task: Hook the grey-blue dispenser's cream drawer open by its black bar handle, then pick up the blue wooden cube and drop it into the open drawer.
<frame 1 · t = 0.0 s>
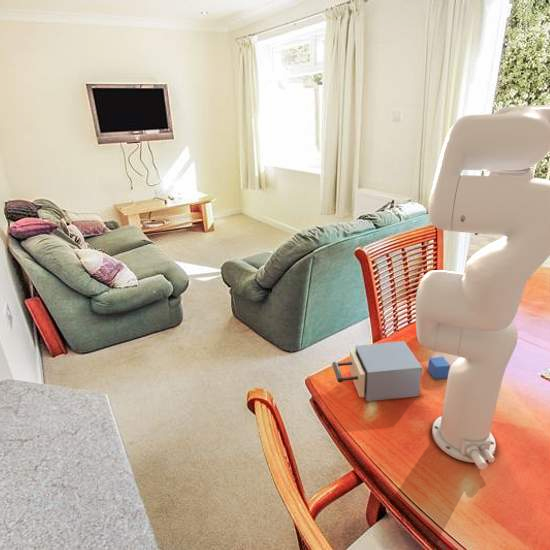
hand: (498, 235, 93), 37 cm above the table, tool pointing down, fingers open, 9 cm apart
teacup with lid: (436, 332, 122), on the table
dispenser: (385, 383, 101), on the table
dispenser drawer: (368, 371, 99), point 5 cm above the table, slide at 0.5 cm
blue wooden cube: (437, 373, 103), on the table
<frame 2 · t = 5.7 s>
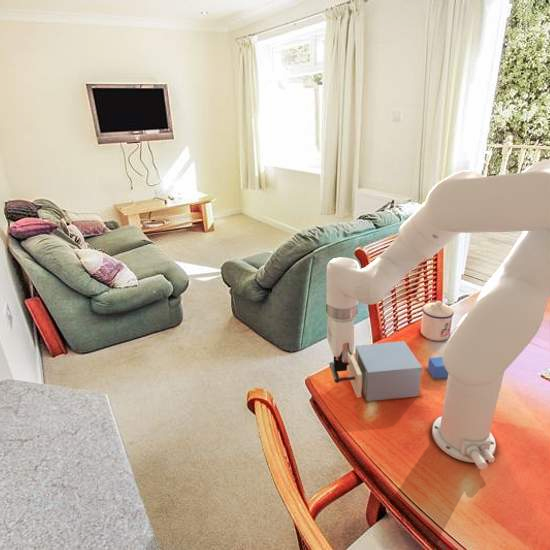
hand: (340, 369, 98), 6 cm above the table, tool pointing down, fingers closed
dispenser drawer: (365, 372, 99), point 5 cm above the table, slide at 1.3 cm, touching gripper
everything else where it was.
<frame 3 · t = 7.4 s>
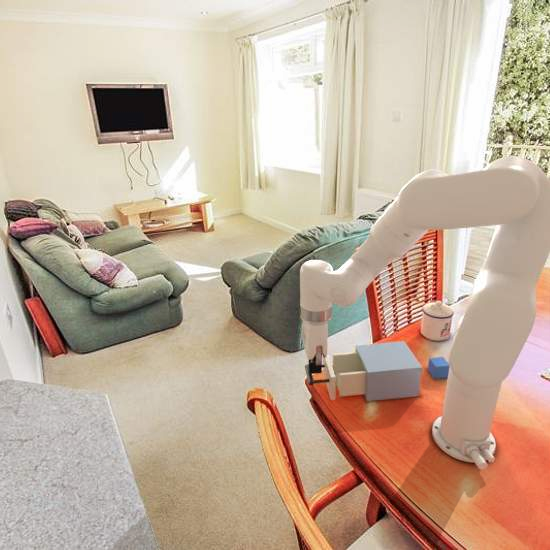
hand: (315, 371, 98), 6 cm above the table, tool pointing down, fingers closed
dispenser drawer: (340, 374, 98), point 5 cm above the table, slide at 7.9 cm, touching gripper
everything else where it was.
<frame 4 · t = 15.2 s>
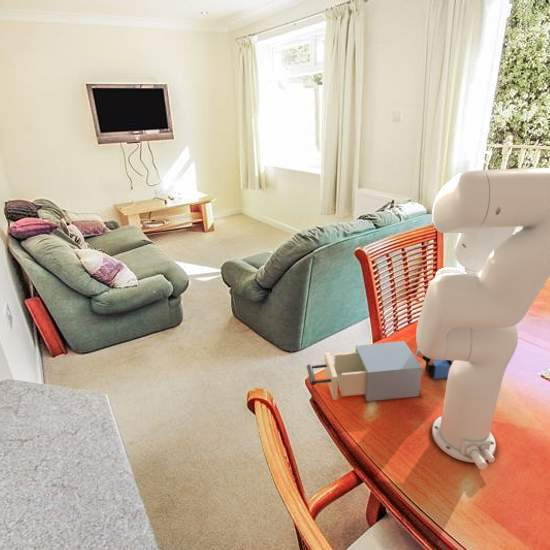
hand: (438, 372, 103), 0 cm above the table, tool pointing down, fingers closed on blue wooden cube, 4 cm apart
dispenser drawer: (342, 374, 98), point 5 cm above the table, slide at 7.4 cm
blue wooden cube: (437, 373, 103), on the table, touching gripper
everything else where it was.
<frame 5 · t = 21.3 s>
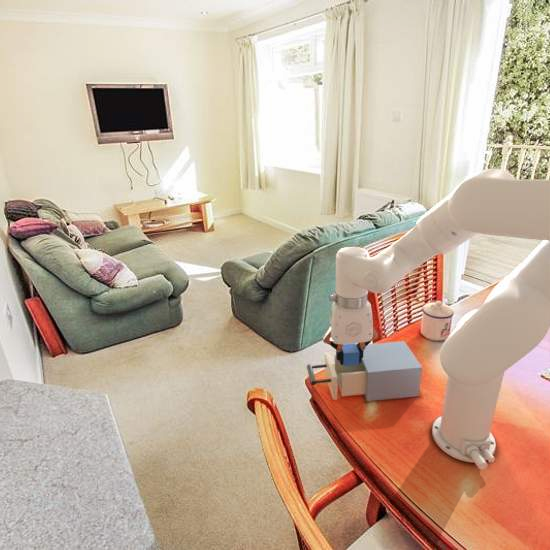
hand: (349, 360, 97), 9 cm above the table, tool pointing down, fingers closed on blue wooden cube, 4 cm apart
blue wooden cube: (349, 360, 97), point 8 cm above the table, touching gripper
everything else where it was.
when the fingers open (11 cm above the table, at t = 28.6 s): blue wooden cube drops 8 cm, resting on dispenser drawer.
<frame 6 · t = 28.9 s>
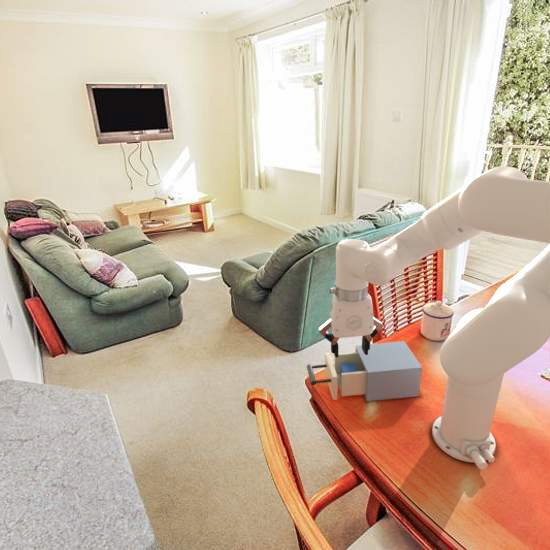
hand: (350, 352, 96), 11 cm above the table, tool pointing down, fingers open, 7 cm apart
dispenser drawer: (342, 374, 98), point 5 cm above the table, slide at 7.4 cm, touching blue wooden cube
blue wooden cube: (349, 380, 100), point 2 cm above the table, touching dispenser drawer
everything else where it was.
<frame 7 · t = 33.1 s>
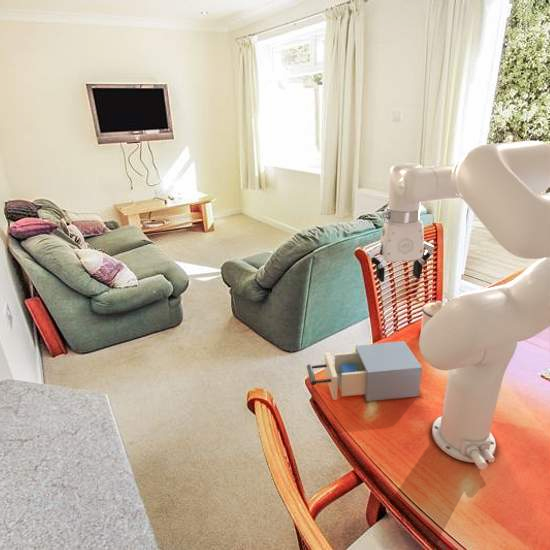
hand: (398, 278, 99), 26 cm above the table, tool pointing down, fingers open, 9 cm apart
nothing on the table moved.
at the end: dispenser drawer slide at 7.4 cm; blue wooden cube inside the target area in the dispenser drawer (0.4 cm from its centre), point 2.0 cm above the dispenser's base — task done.
